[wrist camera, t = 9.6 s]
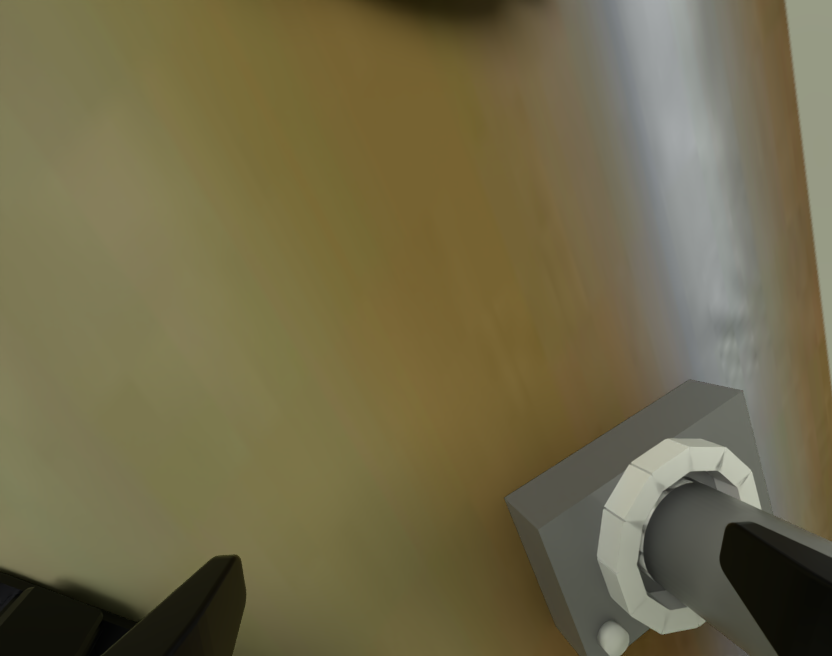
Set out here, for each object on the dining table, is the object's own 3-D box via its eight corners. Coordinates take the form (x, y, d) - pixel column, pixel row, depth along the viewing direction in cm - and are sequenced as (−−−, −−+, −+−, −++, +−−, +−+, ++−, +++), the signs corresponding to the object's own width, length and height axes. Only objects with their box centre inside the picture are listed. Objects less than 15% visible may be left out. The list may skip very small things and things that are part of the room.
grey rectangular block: (557, 629, 23) (614, 700, 19) (502, 494, 21) (553, 541, 17) (723, 501, 26) (801, 538, 22) (689, 376, 24) (767, 392, 20)
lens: (654, 598, 21) (1115, 980, 9) (613, 523, 19) (1088, 856, 8) (725, 525, 22) (1209, 779, 10) (691, 450, 21) (1198, 644, 9)
